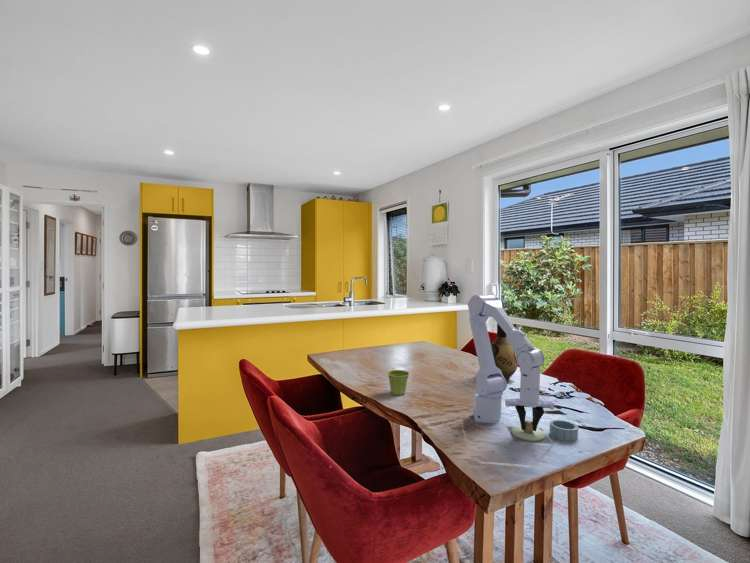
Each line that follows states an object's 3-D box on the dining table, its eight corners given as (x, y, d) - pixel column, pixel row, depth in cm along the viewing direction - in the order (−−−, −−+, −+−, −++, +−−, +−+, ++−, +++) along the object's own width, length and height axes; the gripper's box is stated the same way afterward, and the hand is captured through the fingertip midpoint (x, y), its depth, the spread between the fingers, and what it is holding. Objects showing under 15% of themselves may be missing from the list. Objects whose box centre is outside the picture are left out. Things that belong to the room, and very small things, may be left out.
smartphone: (567, 428, 136) (567, 425, 136) (540, 412, 151) (540, 409, 151) (586, 427, 138) (586, 424, 138) (557, 411, 153) (557, 408, 153)
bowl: (554, 441, 125) (554, 429, 125) (546, 431, 133) (546, 419, 133) (581, 443, 124) (582, 430, 124) (572, 432, 132) (572, 420, 132)
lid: (515, 440, 124) (516, 427, 124) (508, 427, 134) (509, 415, 134) (549, 442, 123) (550, 429, 123) (540, 429, 133) (540, 417, 133)
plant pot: (407, 397, 164) (408, 376, 164) (385, 395, 166) (385, 375, 166) (410, 390, 174) (410, 370, 173) (388, 389, 175) (389, 369, 175)
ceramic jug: (521, 383, 186) (523, 319, 185) (488, 383, 186) (489, 318, 185) (510, 373, 203) (512, 314, 202) (479, 373, 203) (481, 313, 202)
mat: (514, 442, 124) (514, 440, 124) (507, 428, 135) (507, 426, 135) (551, 445, 123) (551, 443, 123) (541, 430, 134) (541, 428, 133)
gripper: (508, 390, 125) (507, 433, 126) (557, 392, 123) (556, 436, 124) (504, 383, 132) (503, 424, 133) (550, 385, 130) (549, 427, 131)
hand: (528, 429), depth 129 cm, fingers closed on lid, 3 cm apart
